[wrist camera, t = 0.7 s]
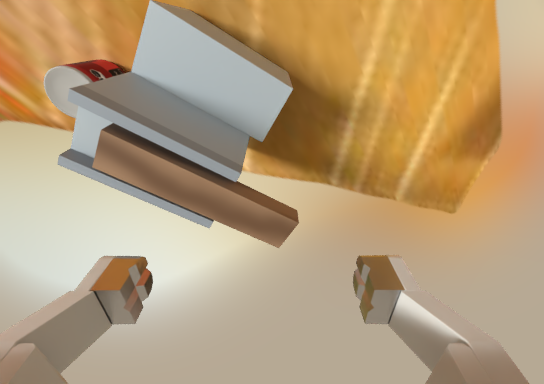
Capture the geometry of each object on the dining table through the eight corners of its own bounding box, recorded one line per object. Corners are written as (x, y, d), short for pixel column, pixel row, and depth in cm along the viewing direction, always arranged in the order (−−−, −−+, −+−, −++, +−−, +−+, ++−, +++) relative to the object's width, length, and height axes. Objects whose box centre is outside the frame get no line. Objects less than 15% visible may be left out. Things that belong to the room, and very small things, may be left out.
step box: (189, 9, 43) (85, -17, 19) (288, 72, 48) (300, 113, 24) (158, 102, 51) (57, 164, 27) (246, 148, 56) (224, 234, 32)
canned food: (130, 109, 52) (99, 126, 42) (88, 94, 50) (45, 109, 41) (133, 68, 48) (99, 78, 39) (87, 52, 47) (40, 57, 37)
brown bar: (114, 121, 27) (100, 129, 25) (297, 210, 32) (298, 223, 30) (105, 157, 29) (92, 167, 27) (278, 234, 34) (278, 248, 32)
